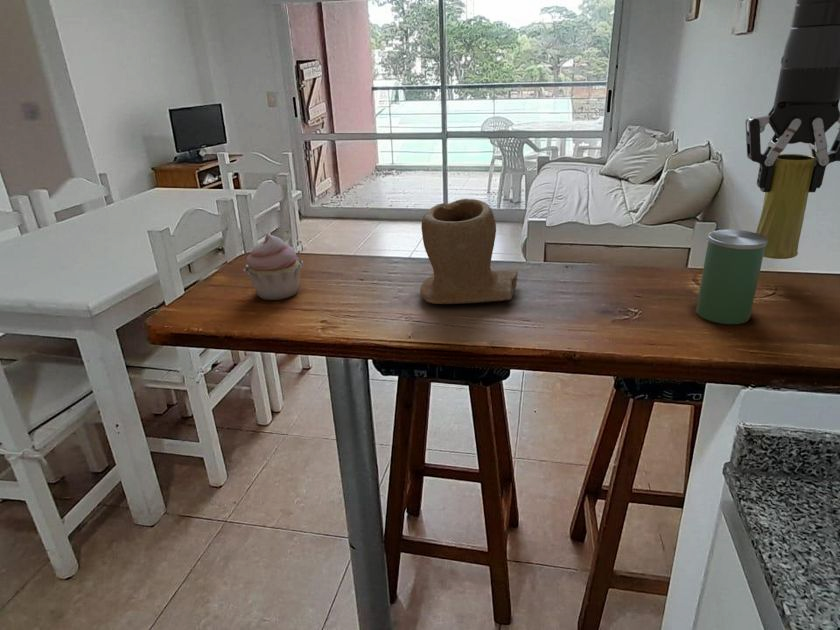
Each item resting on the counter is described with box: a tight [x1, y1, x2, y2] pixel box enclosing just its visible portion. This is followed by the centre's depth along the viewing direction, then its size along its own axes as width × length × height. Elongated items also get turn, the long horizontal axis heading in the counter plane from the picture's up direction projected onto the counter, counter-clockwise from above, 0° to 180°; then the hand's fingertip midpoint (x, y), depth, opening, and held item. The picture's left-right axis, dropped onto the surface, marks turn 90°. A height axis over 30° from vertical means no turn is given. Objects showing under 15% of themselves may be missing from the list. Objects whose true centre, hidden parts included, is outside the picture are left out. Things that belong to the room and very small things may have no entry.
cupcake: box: [243, 233, 304, 301], centre depth 90 cm, size 9×9×10 cm
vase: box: [755, 153, 816, 260], centre depth 84 cm, size 6×6×14 cm
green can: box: [695, 229, 768, 325], centre depth 76 cm, size 7×7×11 cm
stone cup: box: [419, 198, 519, 305], centre depth 84 cm, size 15×12×15 cm
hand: (787, 190), depth 83 cm, fingers closed on vase, 5 cm apart
